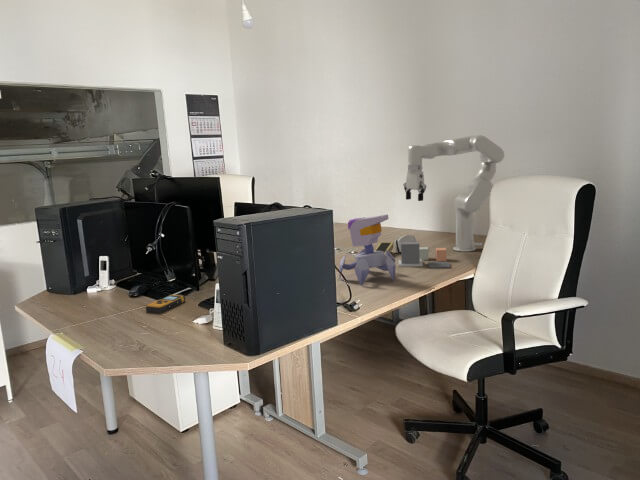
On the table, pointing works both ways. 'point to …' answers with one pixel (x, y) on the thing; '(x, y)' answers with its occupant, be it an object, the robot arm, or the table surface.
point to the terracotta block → (440, 254)
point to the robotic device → (368, 248)
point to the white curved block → (404, 239)
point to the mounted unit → (410, 255)
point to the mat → (439, 264)
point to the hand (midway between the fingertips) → (414, 200)
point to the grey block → (423, 253)
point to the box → (384, 247)
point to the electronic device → (165, 303)
